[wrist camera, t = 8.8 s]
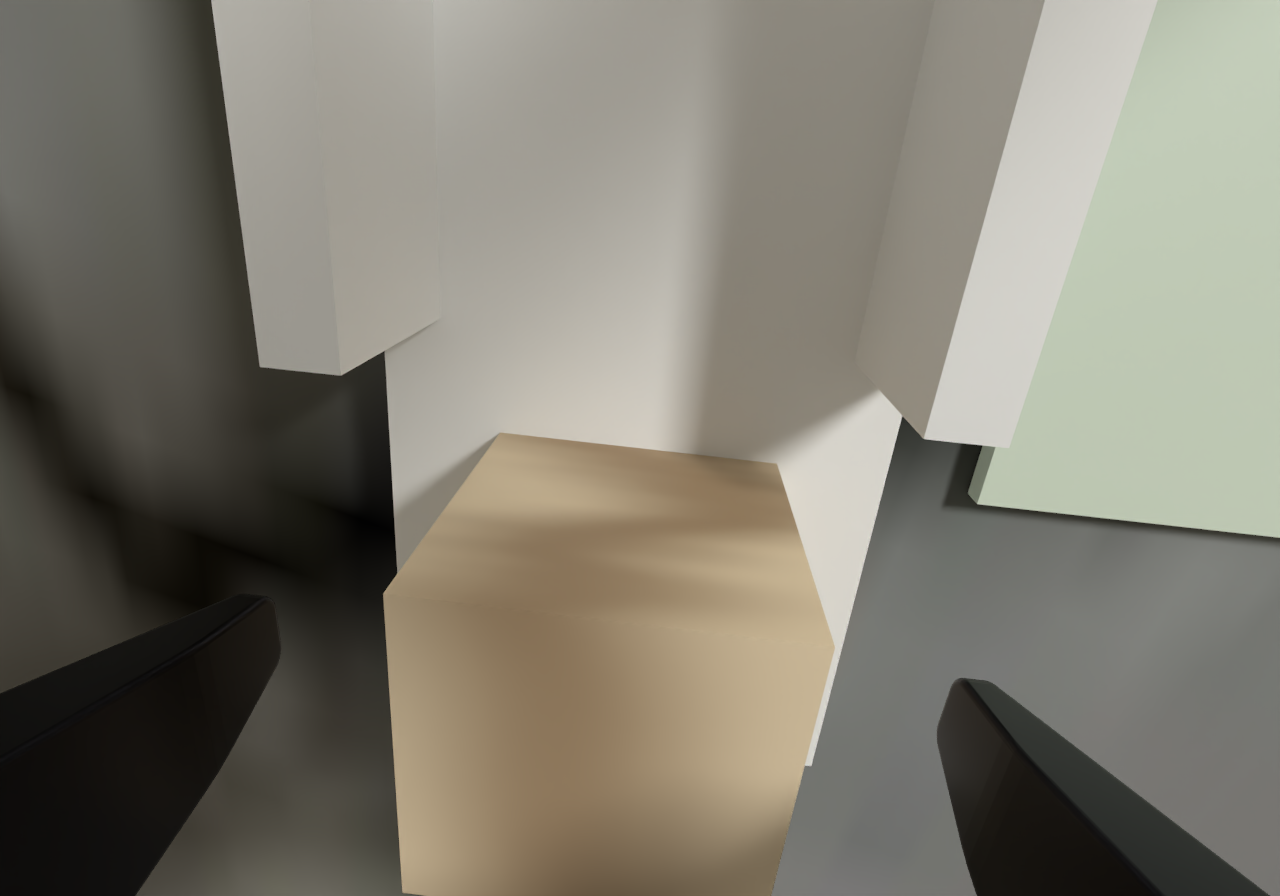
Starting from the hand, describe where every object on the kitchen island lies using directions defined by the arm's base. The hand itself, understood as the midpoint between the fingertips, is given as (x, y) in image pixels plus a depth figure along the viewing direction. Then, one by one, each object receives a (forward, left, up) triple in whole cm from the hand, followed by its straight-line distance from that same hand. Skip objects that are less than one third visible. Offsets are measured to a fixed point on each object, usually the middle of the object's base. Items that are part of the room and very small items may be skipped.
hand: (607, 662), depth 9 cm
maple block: (0, +1, -4) cm, 4 cm away
